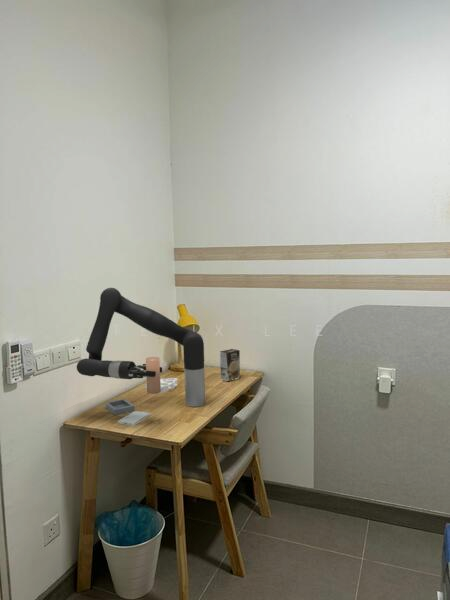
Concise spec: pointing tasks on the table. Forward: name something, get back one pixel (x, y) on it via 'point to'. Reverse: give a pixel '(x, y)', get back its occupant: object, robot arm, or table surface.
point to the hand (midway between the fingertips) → (158, 372)
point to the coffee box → (230, 364)
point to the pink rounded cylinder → (153, 382)
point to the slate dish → (119, 406)
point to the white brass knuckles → (167, 384)
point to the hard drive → (133, 418)
